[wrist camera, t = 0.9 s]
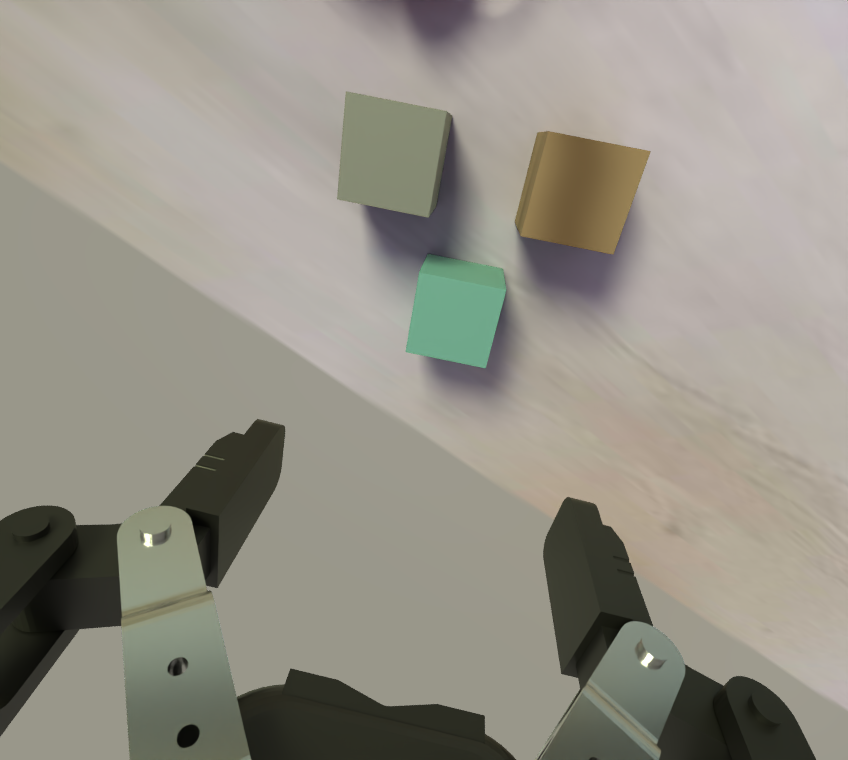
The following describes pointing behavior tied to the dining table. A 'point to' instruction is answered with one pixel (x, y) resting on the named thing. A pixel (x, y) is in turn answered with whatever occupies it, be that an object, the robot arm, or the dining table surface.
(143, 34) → the dining table surface
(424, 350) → the teal block
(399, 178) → the grey-green rectangular block
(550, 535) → the robot arm
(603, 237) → the brass block
